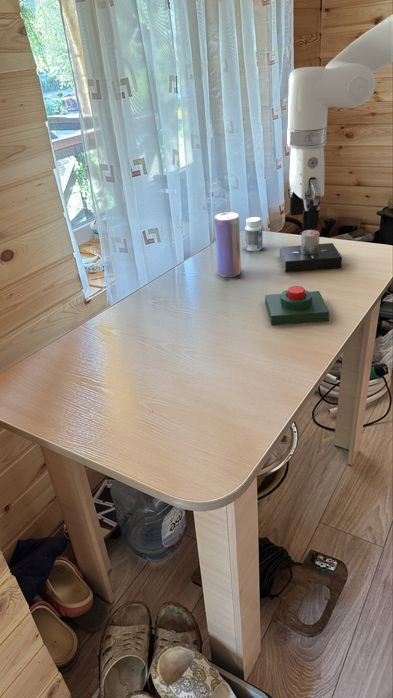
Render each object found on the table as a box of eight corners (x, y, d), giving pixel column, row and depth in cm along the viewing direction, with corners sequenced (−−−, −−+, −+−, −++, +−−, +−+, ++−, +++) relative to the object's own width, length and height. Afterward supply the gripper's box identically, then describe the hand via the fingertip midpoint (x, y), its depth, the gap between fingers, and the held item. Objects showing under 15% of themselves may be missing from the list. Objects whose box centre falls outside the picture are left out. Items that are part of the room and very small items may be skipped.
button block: (318, 299, 116) (319, 283, 114) (328, 321, 107) (329, 304, 105) (265, 303, 116) (265, 287, 114) (271, 325, 108) (271, 308, 105)
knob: (297, 251, 133) (298, 231, 130) (310, 247, 134) (311, 227, 132) (308, 256, 129) (309, 236, 126) (322, 252, 131) (323, 231, 128)
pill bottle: (262, 251, 142) (261, 221, 138) (245, 251, 143) (244, 222, 139) (262, 245, 146) (262, 216, 142) (246, 245, 147) (245, 216, 143)
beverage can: (222, 280, 128) (218, 221, 121) (214, 271, 133) (211, 214, 125) (244, 275, 130) (242, 217, 122) (236, 267, 135) (234, 210, 127)
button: (303, 292, 111) (303, 285, 110) (306, 300, 108) (306, 292, 107) (286, 293, 111) (286, 286, 110) (289, 301, 108) (289, 293, 107)
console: (331, 253, 137) (332, 242, 136) (341, 268, 129) (342, 256, 127) (279, 257, 138) (279, 246, 136) (285, 272, 129) (285, 260, 128)
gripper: (340, 143, 95) (333, 232, 104) (311, 129, 110) (308, 208, 119) (300, 147, 95) (297, 236, 104) (277, 132, 110) (276, 211, 119)
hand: (303, 221), depth 111 cm, fingers open, 9 cm apart
